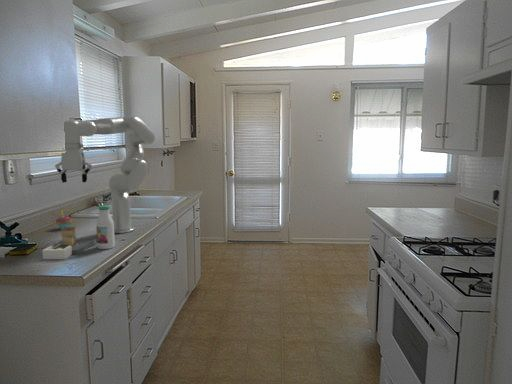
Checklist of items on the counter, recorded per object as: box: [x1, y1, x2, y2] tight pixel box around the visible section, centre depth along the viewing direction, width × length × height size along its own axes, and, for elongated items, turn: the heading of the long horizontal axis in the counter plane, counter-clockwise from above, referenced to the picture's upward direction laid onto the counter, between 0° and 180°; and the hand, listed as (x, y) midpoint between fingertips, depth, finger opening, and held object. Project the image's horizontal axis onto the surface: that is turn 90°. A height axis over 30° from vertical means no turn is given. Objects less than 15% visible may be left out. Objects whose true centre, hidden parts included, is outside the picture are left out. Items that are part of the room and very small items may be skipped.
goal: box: [42, 245, 73, 260], centre depth 171 cm, size 7×9×4 cm
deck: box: [52, 240, 94, 255], centre depth 182 cm, size 16×15×2 cm
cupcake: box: [55, 208, 73, 230], centre depth 223 cm, size 9×8×12 cm
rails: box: [53, 244, 79, 249], centre depth 178 cm, size 8×9×1 cm
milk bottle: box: [95, 204, 116, 250], centre depth 184 cm, size 8×8×20 cm
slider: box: [60, 226, 77, 246], centre depth 181 cm, size 4×5×8 cm
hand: (74, 182), depth 190 cm, fingers open, 9 cm apart
